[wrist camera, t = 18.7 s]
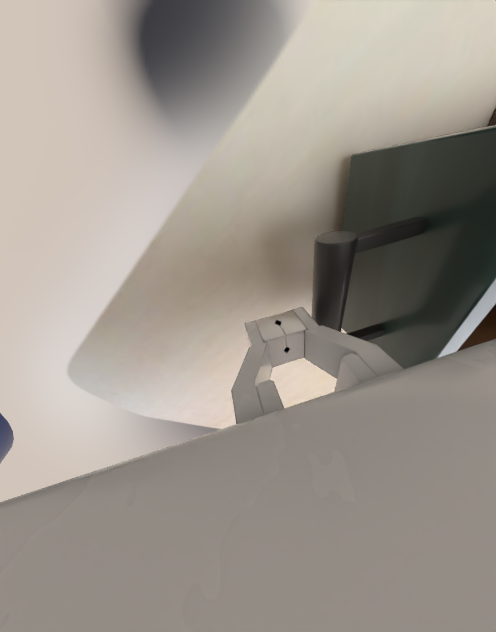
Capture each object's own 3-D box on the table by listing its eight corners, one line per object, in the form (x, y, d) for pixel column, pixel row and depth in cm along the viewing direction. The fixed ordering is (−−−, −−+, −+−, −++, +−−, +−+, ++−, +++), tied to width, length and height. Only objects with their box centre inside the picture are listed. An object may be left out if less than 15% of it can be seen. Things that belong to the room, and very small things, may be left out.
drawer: (284, 331, 16) (336, 420, 10) (269, 174, 9) (411, 156, 3) (458, 277, 17) (600, 327, 11) (563, 101, 10) (1085, -17, 4)
